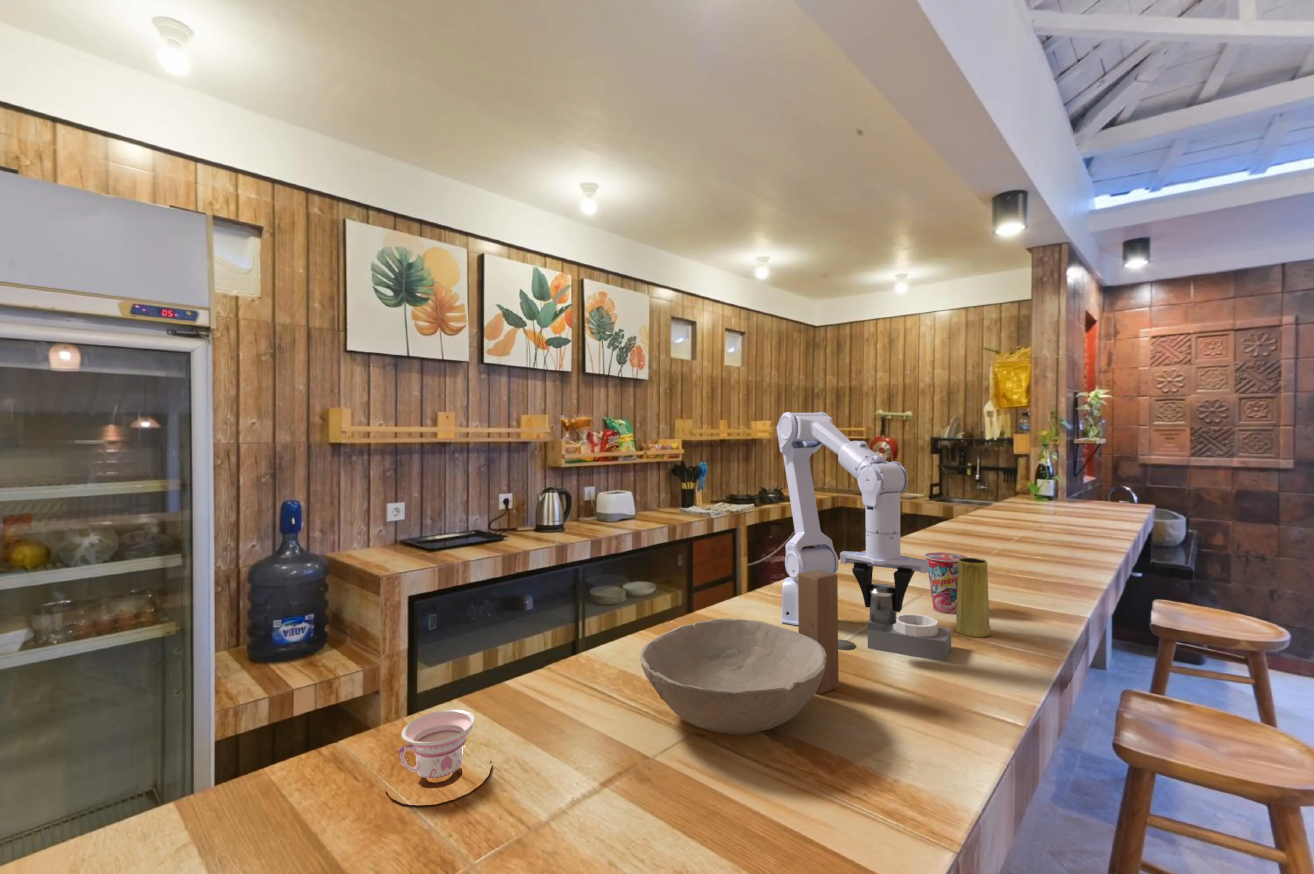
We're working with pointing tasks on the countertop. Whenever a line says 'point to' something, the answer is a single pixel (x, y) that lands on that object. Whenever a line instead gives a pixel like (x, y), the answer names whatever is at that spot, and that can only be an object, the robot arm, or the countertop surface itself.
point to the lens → (882, 604)
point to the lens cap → (845, 645)
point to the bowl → (734, 673)
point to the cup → (944, 580)
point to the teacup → (437, 742)
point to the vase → (972, 598)
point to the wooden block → (820, 619)
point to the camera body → (911, 637)
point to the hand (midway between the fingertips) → (883, 608)
